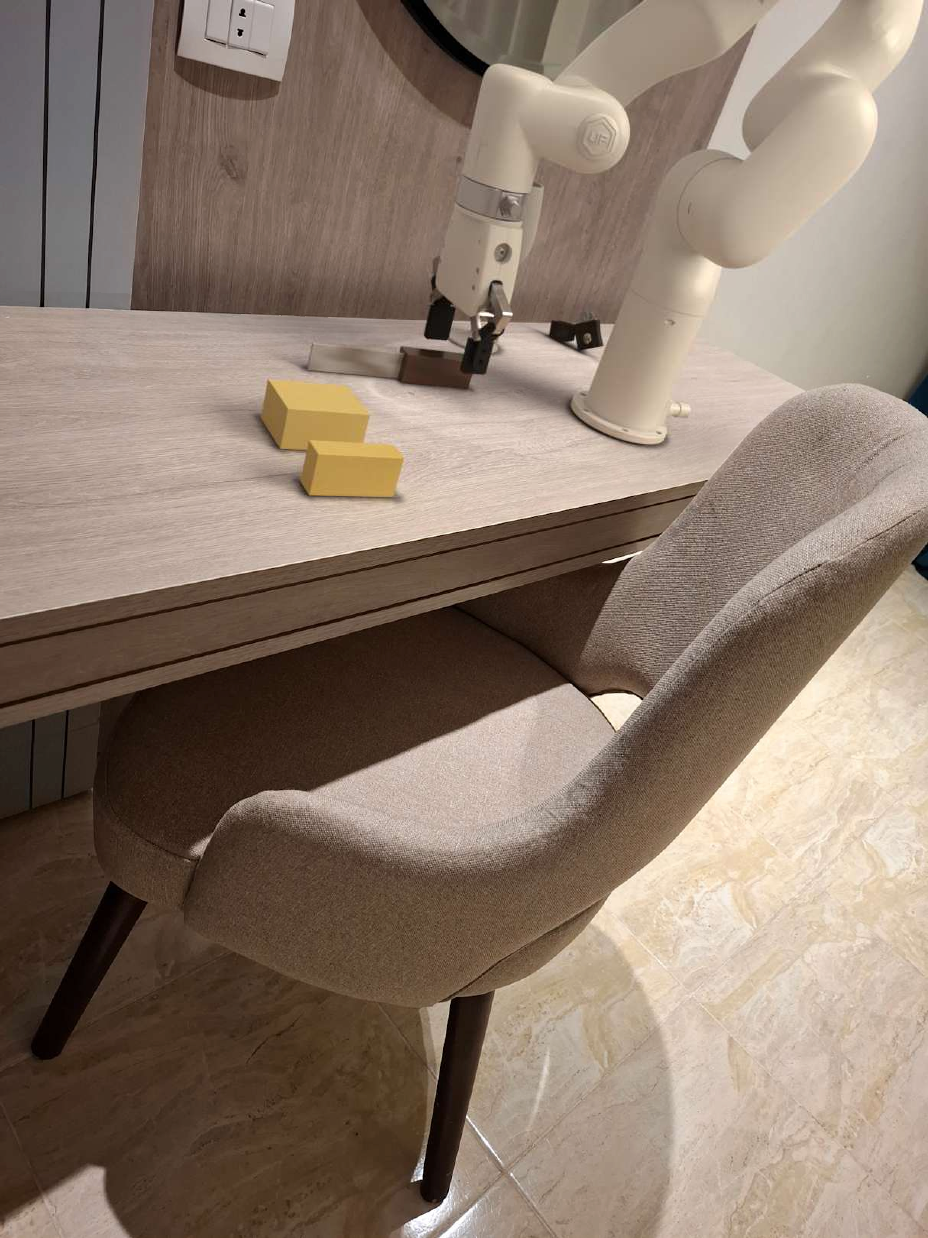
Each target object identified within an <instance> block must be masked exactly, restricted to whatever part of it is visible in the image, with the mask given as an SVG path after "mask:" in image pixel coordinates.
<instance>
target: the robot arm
mask: <svg viewBox="0 0 928 1238" xmlns="http://www.w3.org/2000/svg"><path fill="white" fill-rule="evenodd" d="M780 1H781V0H642V1H641V2H640V3H638V4H637V5H636V6H635V7H633V8H632V9H631V10H630V11H628V12H627V13H626V14H624V15H623V16H622V17H620V18H619V19H618V20H617V21H615V22H614V23H612V25H610V26H609V27H607V28H606V30H604V31H603V32H602V33H600V34H599V35H598V36H597V37H596V38H595V39H593V40H592V42H590V43H589V44H588V46H587V47H586V48H584V49H583V51H582V52H580V53H579V54H578V55H577V56H576V57H575V58H574V60H573V61H571V62H570V64H568V66H567V67H566V68H564V70H563V71H561V72H560V73H559V75H558V76H557V77H556V78H555V79H554V80H551V79H550V78H549V77H547V76H544V75H543V74H540V73H537V72H534V71H532V70H528V69H526V68H521V67H518V66H515V65H510V64H506V63H493V64H492V65H490V66H489V67H488V68H487V69H486V71H484V74H483V77H482V79H481V80H482V81H481V84H480V89H479V93H478V98H477V102H476V107H475V111H474V115H473V120H472V125H471V130H470V133H469V138H468V142H467V146H466V151H465V156H464V160H463V164H462V170H461V173H460V178H459V183H458V186H457V191H456V195H455V200H454V203H453V207H454V210H453V211H452V214H451V218H450V220H449V224H448V227H447V231H446V233H445V237H444V240H443V245H442V248H441V252H440V254H439V255H438V256H434V257H433V259H432V277H431V279H430V285H431V293H430V294H429V303H430V305H429V309H428V314H427V316H426V317H427V318H426V321H425V322H426V323H425V325H424V326H425V327H424V331H423V337H424V338H425V339H426V340H431V341H432V340H434V341H448V340H450V339H449V335H450V331H451V330H452V327H453V322H454V318H455V314H456V309H458V310H460V311H461V312H462V313H463V314H465V315H466V316H468V317H469V319H470V320H469V321H470V330H472V338H471V337H468V339H467V343H466V347H465V348H464V351H463V353H464V355H463V359H462V363H461V367H460V371H461V372H462V373H463V374H472V375H478V376H483V375H486V374H487V371H488V366H489V365H490V364H489V363H490V360H491V356H492V354H493V353H492V349H493V345H494V343H495V344H497V343H498V341H499V338H500V337H501V336H502V335H504V333H505V330H506V327H507V326H508V324H509V323H510V321H511V320H512V318H513V311H512V308H511V306H510V305H511V301H512V297H513V294H514V293H513V292H514V289H515V284H516V279H517V276H518V275H517V274H518V270H519V269H518V268H519V265H520V264H519V258H520V252H521V243H522V231H523V229H522V228H521V227H520V226H521V225H522V222H523V219H524V215H525V211H526V207H527V204H528V200H529V196H530V192H531V188H532V185H533V181H535V177H536V173H537V169H538V167H539V162H540V160H541V159H540V158H542V159H545V160H547V161H549V162H552V163H555V164H556V165H559V166H562V167H563V168H566V169H568V170H570V171H573V172H575V173H579V174H585V175H594V174H600V173H604V172H606V171H607V170H609V169H611V168H613V167H614V166H615V165H616V164H617V163H618V162H619V161H620V160H621V159H622V158H623V156H624V154H625V152H626V151H627V148H628V146H629V142H630V138H631V137H630V136H631V126H630V125H631V124H630V120H629V116H628V114H627V112H626V110H625V108H626V107H627V106H628V105H629V104H631V103H632V102H634V100H635V99H637V98H638V97H639V96H641V95H642V94H643V93H645V92H646V91H648V90H649V89H650V88H652V87H653V86H655V85H657V84H658V83H660V82H662V81H664V80H666V79H669V78H670V77H672V76H674V75H677V74H681V73H683V72H687V71H691V70H693V69H696V68H699V67H701V66H704V65H706V64H708V63H710V62H712V61H715V60H716V59H718V58H720V57H722V56H723V55H724V54H725V53H727V52H728V51H729V50H730V49H731V48H732V47H733V46H734V45H735V44H736V43H737V42H739V40H741V38H743V37H744V36H745V34H747V33H748V32H749V31H750V30H751V29H752V28H753V27H754V26H755V25H756V24H757V23H758V22H759V21H760V20H762V18H764V17H765V15H767V14H768V13H769V12H770V11H771V10H772V9H773V8H774V7H775V6H776V5H777V4H778V3H779V2H780ZM924 2H925V1H924V0H840V1H839V3H838V5H837V6H836V8H835V9H834V10H833V12H832V13H831V14H830V15H829V17H827V19H825V21H824V22H823V24H822V25H820V27H819V28H818V29H817V30H816V32H814V34H813V35H812V36H811V37H810V38H809V39H808V40H807V41H806V42H805V43H804V44H803V45H802V46H801V47H800V48H799V49H798V50H797V51H796V52H795V53H794V54H793V56H791V57H790V58H789V59H788V60H787V61H786V62H785V64H783V65H782V66H781V67H780V69H779V70H777V72H775V73H774V75H772V77H771V78H769V80H768V81H766V82H765V83H764V84H763V85H762V87H761V88H760V89H759V90H758V91H757V93H756V94H754V96H753V97H752V99H751V101H750V102H749V103H748V106H747V107H746V110H745V112H744V115H743V118H742V123H741V135H742V140H743V142H744V144H745V146H746V148H747V149H748V151H749V152H750V154H749V155H748V156H747V157H746V158H745V159H741V158H739V157H737V156H735V155H733V154H731V153H729V152H727V151H723V150H720V149H714V148H710V149H708V148H707V149H700V150H695V151H693V152H691V153H688V154H686V155H685V156H683V157H682V158H680V159H679V160H678V161H677V162H676V163H675V164H674V165H673V166H672V167H671V169H670V170H669V171H668V172H667V174H666V175H665V177H664V179H663V181H662V182H661V185H660V186H659V187H660V188H659V190H658V192H657V195H656V199H655V202H654V205H653V206H654V207H653V209H652V210H653V211H652V214H651V219H650V223H649V226H648V227H649V228H648V231H647V234H646V238H645V242H644V245H643V248H642V251H641V254H640V257H639V260H638V262H637V266H636V268H635V270H634V273H633V276H632V279H631V281H630V284H629V286H628V288H627V290H626V293H625V296H624V299H623V301H622V304H621V306H620V309H619V311H618V314H617V316H616V319H615V322H614V324H613V326H612V329H611V332H610V335H609V337H608V339H607V342H606V344H605V348H604V350H603V353H602V355H601V358H600V361H599V362H598V365H597V368H596V371H595V373H594V375H593V379H592V381H591V384H590V386H589V389H588V390H583V391H578V392H576V393H575V394H574V395H573V396H572V398H571V401H570V408H571V410H572V412H573V413H574V414H575V415H576V416H577V417H578V418H579V419H580V420H581V421H583V422H584V423H586V424H587V425H589V427H592V428H593V429H595V430H597V431H599V432H602V433H604V434H606V435H608V436H610V437H613V438H615V439H619V440H621V441H625V442H629V443H634V444H640V445H657V444H660V443H662V442H664V440H665V439H666V437H667V433H668V428H667V426H666V424H665V421H666V419H670V418H671V417H673V418H679V419H686V418H688V417H690V415H691V411H692V408H691V404H690V403H688V402H683V401H682V402H681V401H675V402H674V400H673V399H672V398H671V394H672V393H673V392H672V391H673V389H674V387H675V385H676V383H677V381H678V378H679V375H680V374H681V371H682V369H683V367H684V364H685V362H686V360H687V358H688V356H689V353H690V351H691V349H692V347H693V344H694V341H695V339H696V338H697V335H698V333H699V330H700V328H701V326H702V323H703V321H704V319H705V317H706V316H707V313H708V312H709V309H710V306H711V304H712V302H713V299H714V297H715V294H716V291H717V288H718V285H719V282H720V279H721V274H722V270H723V268H725V269H730V270H738V269H743V268H747V267H750V266H753V265H755V264H757V263H759V262H761V261H763V260H764V259H765V258H767V257H768V256H770V255H771V254H772V253H774V252H775V251H777V250H778V248H780V247H781V246H782V245H783V244H784V243H785V242H786V241H787V240H788V239H789V238H790V237H792V236H793V235H794V234H795V233H796V232H797V231H798V230H799V229H800V228H801V227H802V226H804V224H805V223H806V222H807V221H808V220H810V218H811V217H813V216H814V215H815V214H816V213H817V212H818V211H819V210H820V209H821V208H822V207H823V206H824V205H825V204H826V203H827V202H828V201H830V199H831V198H833V196H835V195H836V194H837V193H838V192H839V191H840V190H841V189H842V188H843V187H844V186H845V185H846V184H847V183H848V182H849V181H850V180H851V179H852V178H853V176H854V175H855V174H856V173H857V172H858V170H859V169H860V168H861V167H862V165H863V163H864V161H865V160H866V158H867V157H868V155H869V153H870V151H871V149H872V147H873V144H874V141H875V139H876V134H877V131H878V124H879V114H878V108H877V104H876V101H875V99H874V97H873V95H872V94H873V93H874V92H875V91H876V89H878V87H879V86H880V85H881V84H882V83H883V82H884V81H885V80H886V78H887V77H888V76H889V75H890V74H891V73H892V72H893V71H894V70H895V69H896V67H897V66H898V65H899V64H900V62H901V61H902V59H903V58H904V57H905V55H906V53H907V52H908V50H909V48H910V47H911V44H912V42H913V40H914V38H915V36H916V32H917V30H918V27H919V23H920V19H921V15H922V11H923V5H924ZM453 305H454V306H453ZM479 309H485V311H480V310H479ZM480 320H482V321H487V323H485V324H484V325H483V326H482V321H481V322H480Z"/></svg>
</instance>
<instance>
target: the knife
mask: <svg viewBox="0 0 928 1238" xmlns="http://www.w3.org/2000/svg"><path fill="white" fill-rule="evenodd" d="M463 355H464V352H463V353H462V352H454V351H445V350H437V349H430V348H429V349H428V348H420V347H412V346H403V345H400V347H399V351H397V352H396V351H389V350H379V349H370V348H361V347H356V346H355V347H354V346H345V345H337V344H329V343H318V342H311V347H310V352H309V356H308V363H307V366H306V370H307V371H315V372H316V371H317V372H326V373H337V374H345V375H346V374H347V375H356V376H365V377H366V376H367V377H377V378H388V379H398V381H400V383H403V384H414V385H425V386H435V387H446V388H457V389H467V390H468V389H469V387H470V383H471V381H472V378H473V374H463V373H462V372H461V371H460V367H461V363H462V359H463Z"/></svg>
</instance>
